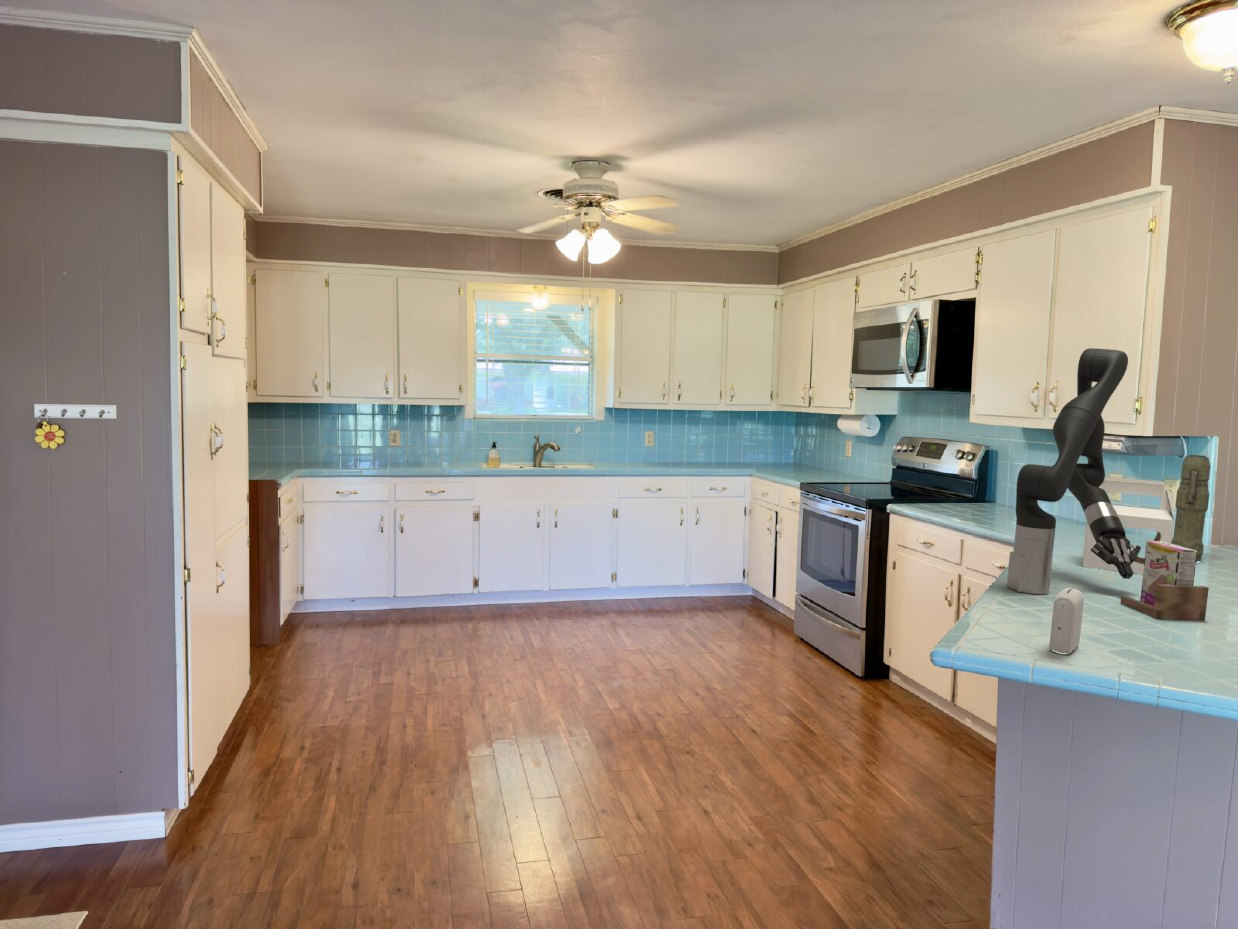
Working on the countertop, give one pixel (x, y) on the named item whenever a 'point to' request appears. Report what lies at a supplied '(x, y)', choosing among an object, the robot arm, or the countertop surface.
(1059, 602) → the photo printer
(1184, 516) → the moai statue
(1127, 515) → the gable box
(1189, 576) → the candy bar box
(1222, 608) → the countertop surface
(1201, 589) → the walnut rack
